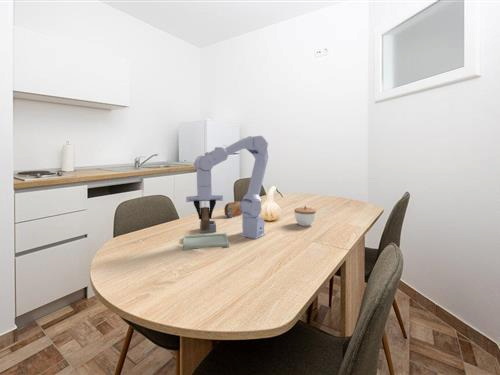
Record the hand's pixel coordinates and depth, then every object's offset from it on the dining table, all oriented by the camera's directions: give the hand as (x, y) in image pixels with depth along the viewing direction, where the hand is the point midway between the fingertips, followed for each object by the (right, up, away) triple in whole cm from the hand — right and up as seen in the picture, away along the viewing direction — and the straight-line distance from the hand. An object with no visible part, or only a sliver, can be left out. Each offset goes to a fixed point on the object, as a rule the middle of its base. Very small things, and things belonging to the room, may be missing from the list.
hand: (205, 218), depth 117 cm
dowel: (0, -5, +1) cm, 5 cm away
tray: (0, -10, +1) cm, 10 cm away
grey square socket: (-1, -8, +18) cm, 19 cm away
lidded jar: (+46, -6, +29) cm, 55 cm away
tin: (+9, -4, +48) cm, 49 cm away
